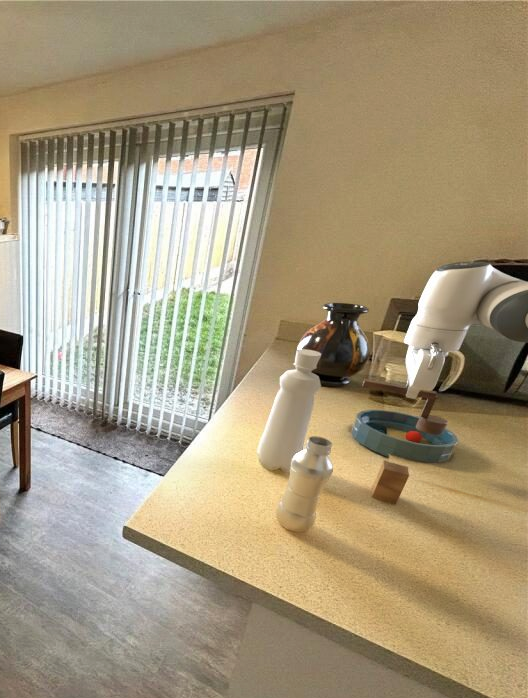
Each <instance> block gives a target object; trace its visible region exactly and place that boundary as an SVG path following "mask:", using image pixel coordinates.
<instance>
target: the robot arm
mask: <svg viewBox="0 0 528 698" xmlns="http://www.w3.org/2000/svg"><path fill="white" fill-rule="evenodd" d="M417 305H418V309H417V313H416V314H415V316H413V318H412V320H411V321H410V324H409V326H408V328H407V331H406V334H405V337H404V340H403V343H404V344H406V345H408V347H407V352H406V355H405V363H404V364H405V368H406V373H407V382H406V384H405V386H409V388H408V389H407V392H406V395H405V398H407V399H412V400H414V399H417V398H418V397H417V395H418V393H419V391H420V390H427V391H434V389H435V387H436V385H437V383H438V380H439V378H440V375H441V373H442V370H443V368H444V365H445V361H446V357H447V356H448V355H449V354H450V352H456V351H460V348H461V346H462V344H463V342H464V339H465V337H466V335H467V333H468V331H469V328H470V327H471V326H472V325H475V324H479V325H483V326H485V327H487V328H490V329H491V330H494V331H496V332H498V333H499V334H500V335H501V336H503V337H505V338H506V339H508V340H510V341H513V342H519V343H527V344H528V281H526V280H523V279H520V278H517V277H513V276H511V275H509V274H507V273H504V272H502V271H500V270H499V269H497V268H495V267H493V265H492V264H491V263H489V262H486V261H477V260H476V261H457V262H452V263H451V262H450V263H447V264H444V265H442V266H439V267H438V268H437V269H436V270H435V271H434V272H433V273H432V274H431V276H430V277H429V278H428V281H427V282H426V285H425V287H424V289H423V291H422V293H421V296H420V298H419V301H418V303H417Z"/></svg>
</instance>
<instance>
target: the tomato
mask: <svg viewBox="0 0 528 698" xmlns="http://www.w3.org/2000/svg"><path fill="white" fill-rule="evenodd" d="M405 433H406V432H405ZM404 437H405V440H406V441H410V442H414V443H420V442H421V441H422V440H423V439H422V435H421V434H420V433H419V432H416V431H410V432H408V433H406V434H405V436H404Z"/></svg>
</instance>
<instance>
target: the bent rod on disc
mask: <svg viewBox="0 0 528 698" xmlns="http://www.w3.org/2000/svg"><path fill="white" fill-rule="evenodd" d="M362 388H367V389H373V390H377V391H378V390H379V391H383V392H389V393H395V394H399V395H403V396H406V392H407V389H408V388H409V386H406V385H402V384H397V383H391V382H386V381H379V380H374V379H368V378H364V380H363V382H362ZM416 398H421V399H425V400H426V401H425V403H424V405H423V408H422V410H421V412H420V414H419V416H418V417H419V420H418V422H417V424H416V428H417V429H418V430H420V431H422V432H425V433H428V434H433V435H442V434H443V432H444V430H445V428H446V429H447V426H448V424H449V421H448V420H447V419H445V418H443V417H441V416H437V415H434V414H431V412H432V409H433V407H434V405H435V403H436V401H437V399H438V394H437V390H436V391H435V390H432V391H427V390H420V391H419V393H418V395H417V397H416Z"/></svg>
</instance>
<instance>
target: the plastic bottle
mask: <svg viewBox="0 0 528 698" xmlns="http://www.w3.org/2000/svg"><path fill="white" fill-rule="evenodd" d="M332 447H333V442H332V440H329V439H327V438H325V437H322V436H315V435H314V436H309V437H308V439H307V441H306V442H305V445H304V448H305V449H304V448H303V450H302V451H300V452H299V453H297V454H296V455H295V456H294V457H293V458H292V461H291V468H290V473H289V478H288V480H287V485H286V489H285V490H284V493H283V495H282V497H281V499H280V501H279V502H278V503H277V505H276V507H275V518H276V520H277V522H278V524H279V525H280V526H282V527H283V528H285V529H287V530H289V531H291V532H295V533H305V532H308V531H310V530H311V529H312V528H313V527H314V525H315V523H316V517H317V508H318V504H319V499H320V497H321V494H322V493H323V490H324V488H325V486H326V485H327V483H328V482H329V480H330V478H331V477H332V474H333V472H334V466H333V463H332V460H331V459H330V457H329V455H330V454H331V452H332Z"/></svg>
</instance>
